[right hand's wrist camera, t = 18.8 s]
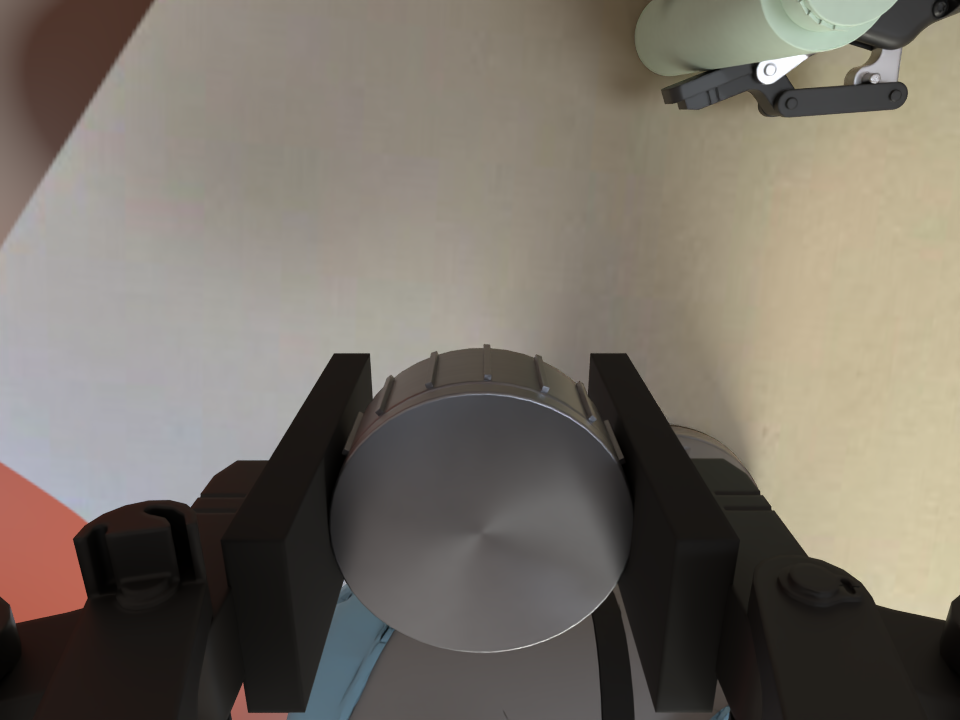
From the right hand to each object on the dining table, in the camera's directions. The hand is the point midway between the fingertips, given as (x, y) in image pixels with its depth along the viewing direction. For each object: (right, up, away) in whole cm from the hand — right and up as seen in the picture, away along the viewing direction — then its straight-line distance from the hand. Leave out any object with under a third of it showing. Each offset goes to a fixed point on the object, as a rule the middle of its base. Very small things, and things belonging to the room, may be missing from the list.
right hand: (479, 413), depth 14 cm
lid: (0, -1, -4) cm, 4 cm away
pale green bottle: (+11, +19, +22) cm, 31 cm away
